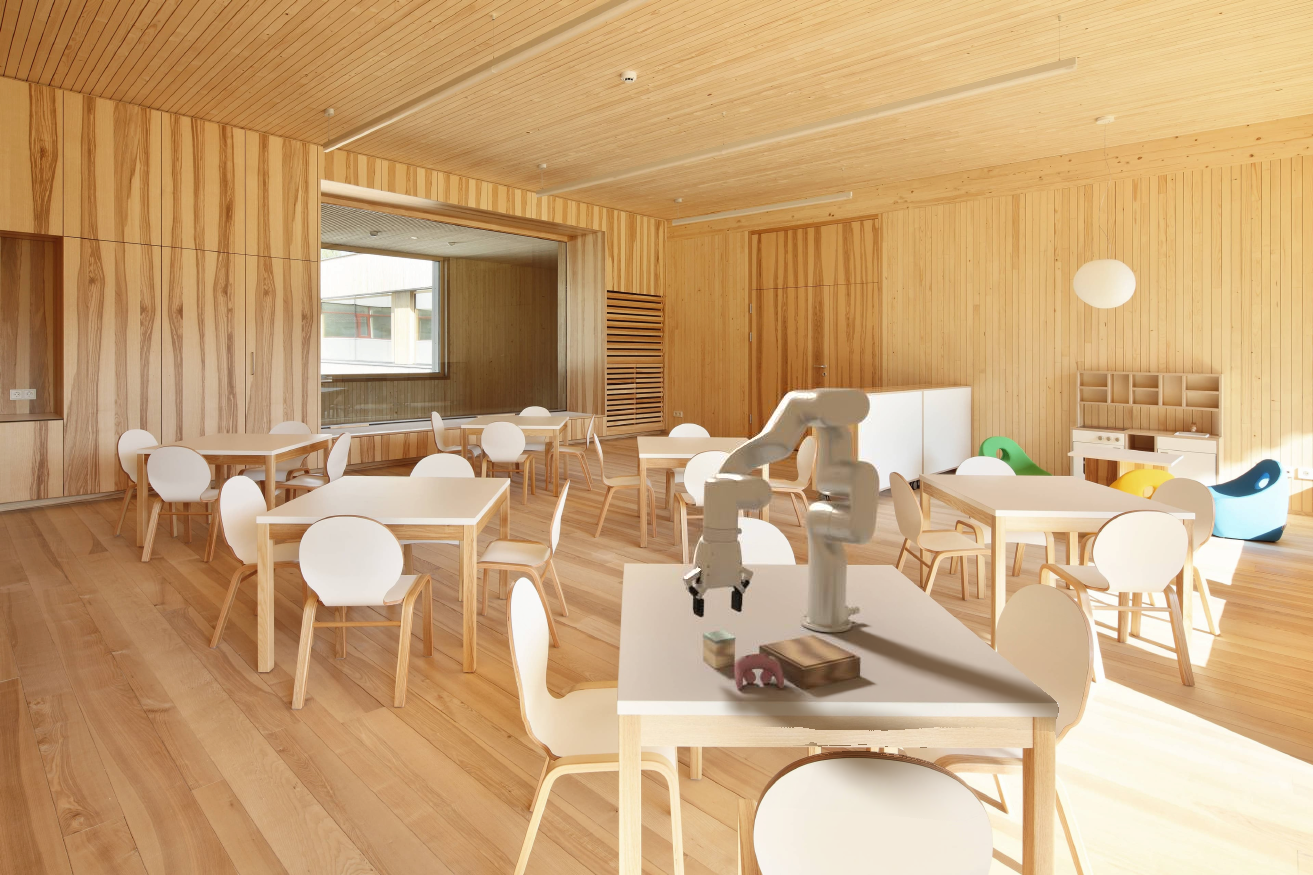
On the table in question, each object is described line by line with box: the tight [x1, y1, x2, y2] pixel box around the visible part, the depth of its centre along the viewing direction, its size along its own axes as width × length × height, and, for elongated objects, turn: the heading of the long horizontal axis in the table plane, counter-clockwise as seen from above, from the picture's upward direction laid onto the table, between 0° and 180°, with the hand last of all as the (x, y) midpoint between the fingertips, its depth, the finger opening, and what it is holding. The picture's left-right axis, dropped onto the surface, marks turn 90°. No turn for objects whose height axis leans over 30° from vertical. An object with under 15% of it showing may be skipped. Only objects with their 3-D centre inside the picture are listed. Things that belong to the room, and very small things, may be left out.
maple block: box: [702, 630, 736, 669], centre depth 157 cm, size 5×5×6 cm
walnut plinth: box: [758, 634, 862, 690], centre depth 154 cm, size 15×15×4 cm
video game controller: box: [733, 653, 785, 690], centre depth 146 cm, size 10×5×7 cm, turn 92°
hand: (717, 612), depth 156 cm, fingers open, 9 cm apart
